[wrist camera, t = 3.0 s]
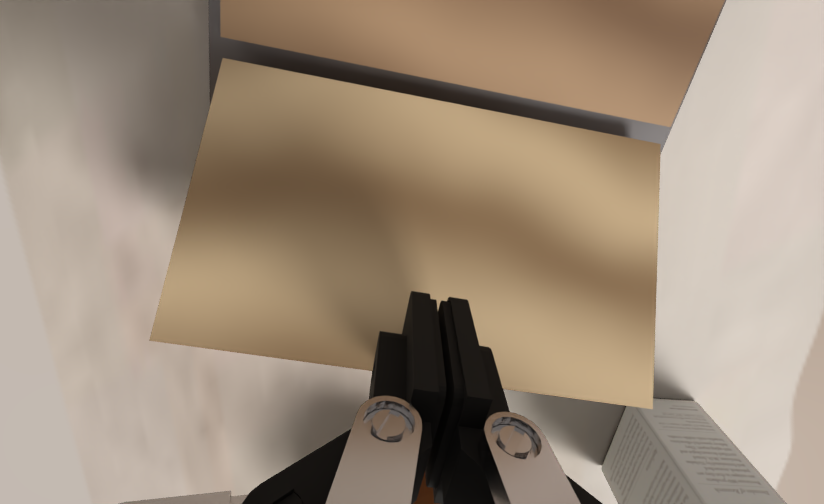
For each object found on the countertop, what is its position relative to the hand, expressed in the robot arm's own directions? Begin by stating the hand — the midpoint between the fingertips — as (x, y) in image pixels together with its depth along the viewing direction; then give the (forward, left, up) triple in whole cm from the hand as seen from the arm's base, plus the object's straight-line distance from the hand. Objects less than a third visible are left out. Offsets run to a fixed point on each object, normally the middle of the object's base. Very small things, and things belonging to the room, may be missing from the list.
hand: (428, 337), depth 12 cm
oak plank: (+1, 0, -4) cm, 4 cm away
